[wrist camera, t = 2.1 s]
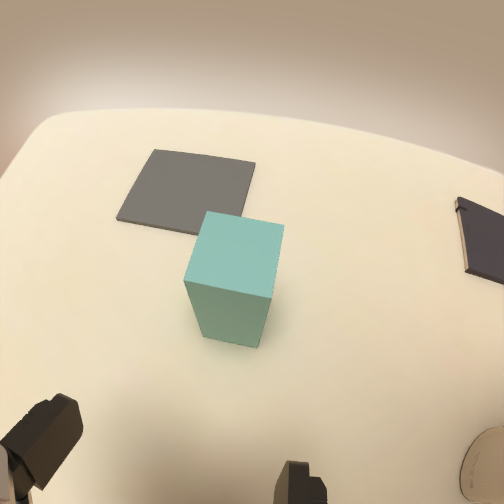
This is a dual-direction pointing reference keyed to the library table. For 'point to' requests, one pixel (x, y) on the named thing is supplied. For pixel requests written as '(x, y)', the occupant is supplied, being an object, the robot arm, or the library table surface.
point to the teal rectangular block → (233, 276)
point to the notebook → (481, 240)
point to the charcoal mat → (186, 190)
